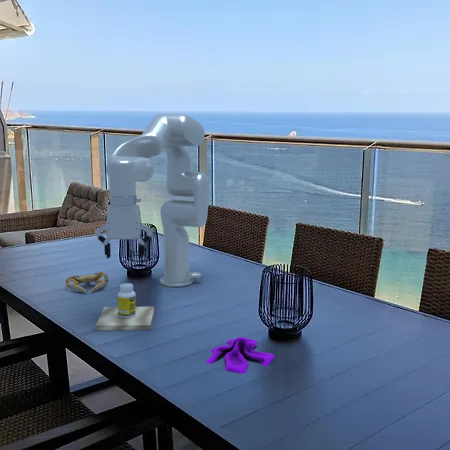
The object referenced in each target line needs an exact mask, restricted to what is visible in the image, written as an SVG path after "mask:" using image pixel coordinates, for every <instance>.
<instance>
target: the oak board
mask: <svg viewBox="0 0 450 450" xmlns="http://www.w3.org/2000/svg"><path fill="white" fill-rule="evenodd" d="M154 314H155V306H136V314H135V316H133V317H131V318H121V317H119V316H118V306H104V307H103V309H102V311H101V313H100V315H99V317H98V320H97V322H96V323H95V326H94V327H95V328H94V329H95V331H150V330H151V328H152V324H153V318H154Z"/></svg>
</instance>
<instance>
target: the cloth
mask: <svg viewBox="0 0 450 450" xmlns="http://www.w3.org/2000/svg"><path fill="white" fill-rule="evenodd" d="M225 344H226V345H223V344H222V345H220V346H217V347H215V348H212V349H210V351H209V353H212V355H211V356H209V357H208V358H207V360H206V362H205V363H206V364H208V365H211V364H214V363H216V362H217V361H218V359H220V357H223V356H224V357H223V358H224V361H225V368H224V370H225V372H232V373H237V374H241V375H242V374H247V369H248V367H249V361H248V360H252V361H256V362H257V363H259V364H260V365H261V366H262V367H267V366H269V365H270V364H271V363H272V362H273V360H274V359H275V357H276V356H275V354H273V353H270V352H262V351H257V350H254V349H255V347H257V344H258V341H257V340H255V339H254V338H246V337H244V336H238V337H237V338H231V339H228V340H227V341H226V342H225Z"/></svg>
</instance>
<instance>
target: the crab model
mask: <svg viewBox="0 0 450 450" xmlns="http://www.w3.org/2000/svg"><path fill="white" fill-rule="evenodd" d="M102 277H103V278H104V279H103V278H102ZM109 280H110V279H109V275H108V274H106V273H105V272H104V271H98V272H96V273H94V274H85V275H82V276H80V275H78V274H76V275H70V276H69V277H68V278H66V280H65V288H66V289H67V290H68V292H71V290H70V288H73V290H75V291H77V292H80V293H83V294H85V293H87V290H86V289H85V288H84V287H83V286H81V285H82V284H86V285H88V286H90V285H91V283H93V282H94V283H97V284H96V285H95V286H93V288H92V289H91V290H90V293H94V292H96V291H97V290H99V289H101V288H103V287H104V286H105V285H107V284H108V282H109ZM70 282H71V284H70Z"/></svg>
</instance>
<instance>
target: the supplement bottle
mask: <svg viewBox="0 0 450 450" xmlns="http://www.w3.org/2000/svg"><path fill="white" fill-rule="evenodd" d="M119 290H120V291H119V292H118V293H117V307H118V316H119V317H121V318H131V317H133V316H135V314H136V307H137V306H136V303H137V301H136V299H137V298H136V292H135V291H134V284H133V283H130V282H129V283H127V282H126V283H121V284H119Z"/></svg>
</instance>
